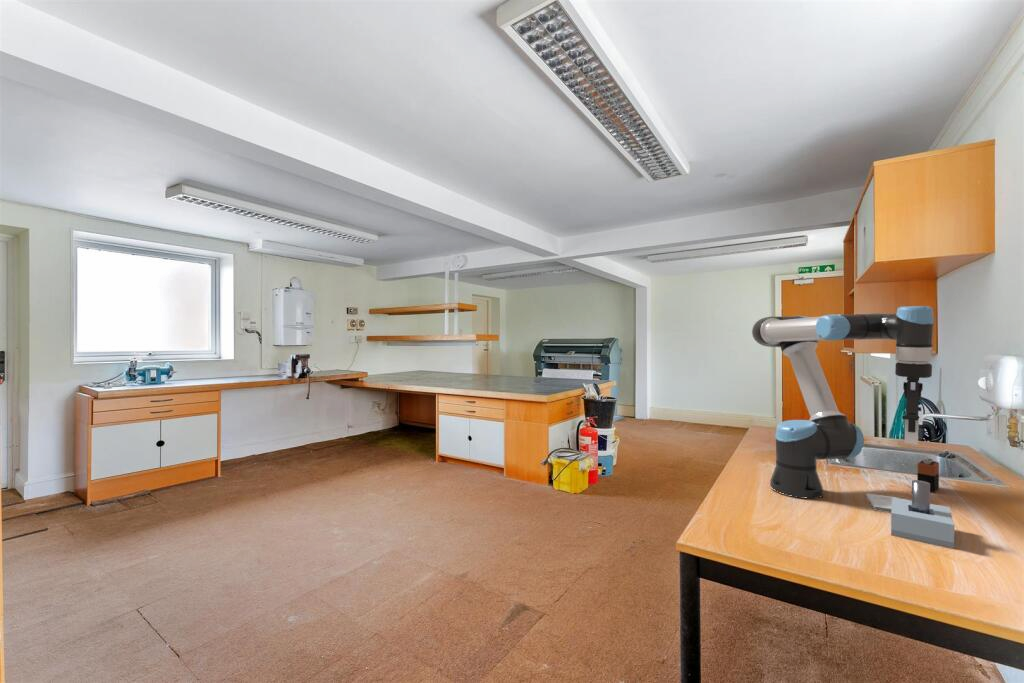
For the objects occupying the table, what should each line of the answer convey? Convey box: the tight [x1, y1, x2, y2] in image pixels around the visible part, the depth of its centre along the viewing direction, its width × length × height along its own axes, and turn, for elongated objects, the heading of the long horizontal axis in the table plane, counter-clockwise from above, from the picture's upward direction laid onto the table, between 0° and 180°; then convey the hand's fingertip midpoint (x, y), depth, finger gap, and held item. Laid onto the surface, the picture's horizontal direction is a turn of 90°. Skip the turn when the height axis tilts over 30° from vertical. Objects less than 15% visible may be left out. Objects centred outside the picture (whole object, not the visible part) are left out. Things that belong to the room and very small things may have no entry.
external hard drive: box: [865, 493, 898, 513], centre depth 140 cm, size 2×8×12 cm
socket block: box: [890, 496, 955, 549], centre depth 122 cm, size 12×14×6 cm
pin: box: [911, 479, 931, 515], centre depth 121 cm, size 4×4×12 cm
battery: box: [916, 458, 940, 493], centre depth 152 cm, size 4×7×10 cm, turn 127°
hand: (911, 438), depth 126 cm, fingers open, 13 cm apart
